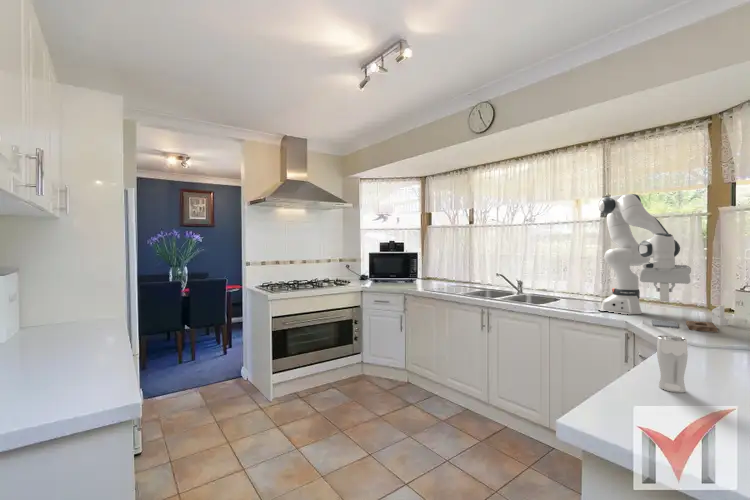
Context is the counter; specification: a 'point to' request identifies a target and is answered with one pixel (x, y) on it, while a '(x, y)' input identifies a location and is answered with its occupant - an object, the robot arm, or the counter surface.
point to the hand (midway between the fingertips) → (664, 291)
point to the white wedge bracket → (719, 316)
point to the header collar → (701, 326)
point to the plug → (664, 292)
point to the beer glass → (672, 362)
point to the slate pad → (664, 324)
